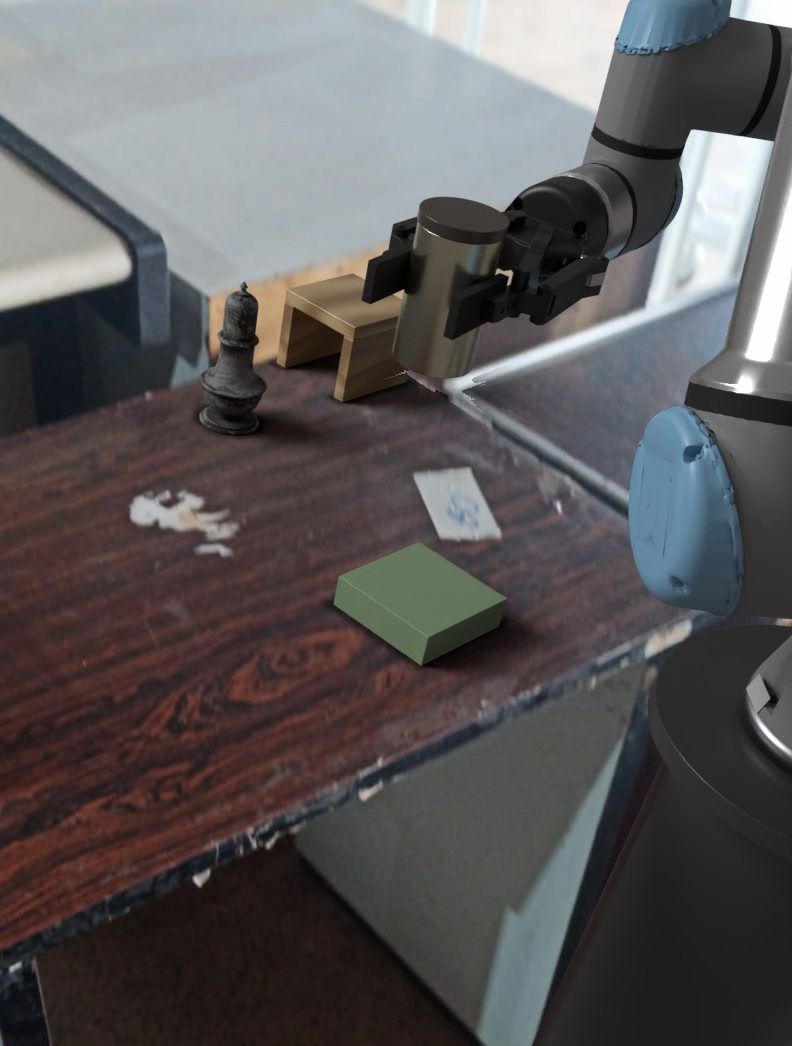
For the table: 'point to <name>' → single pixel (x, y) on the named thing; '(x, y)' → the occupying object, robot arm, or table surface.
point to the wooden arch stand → (342, 334)
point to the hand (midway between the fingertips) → (410, 300)
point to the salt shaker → (234, 370)
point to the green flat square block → (419, 602)
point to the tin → (445, 282)
